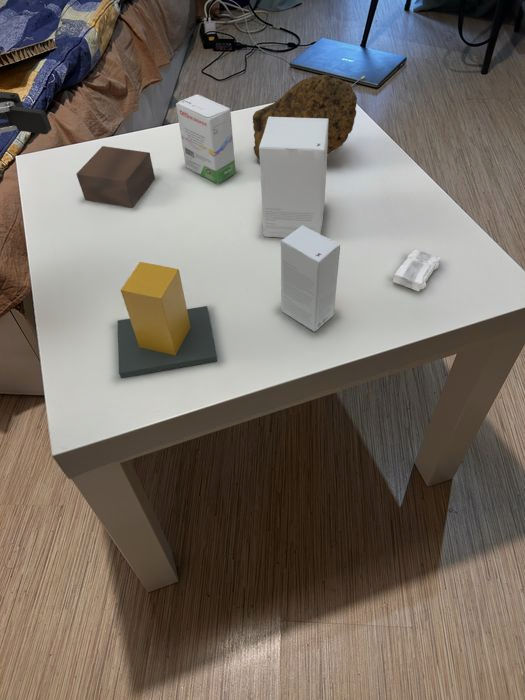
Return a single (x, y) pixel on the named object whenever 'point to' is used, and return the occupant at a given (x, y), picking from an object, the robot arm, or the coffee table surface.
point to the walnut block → (116, 176)
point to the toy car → (416, 270)
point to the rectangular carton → (293, 174)
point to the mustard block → (157, 307)
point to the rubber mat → (144, 361)
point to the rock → (313, 108)
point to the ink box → (206, 137)
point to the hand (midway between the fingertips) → (23, 144)
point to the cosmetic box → (309, 277)
